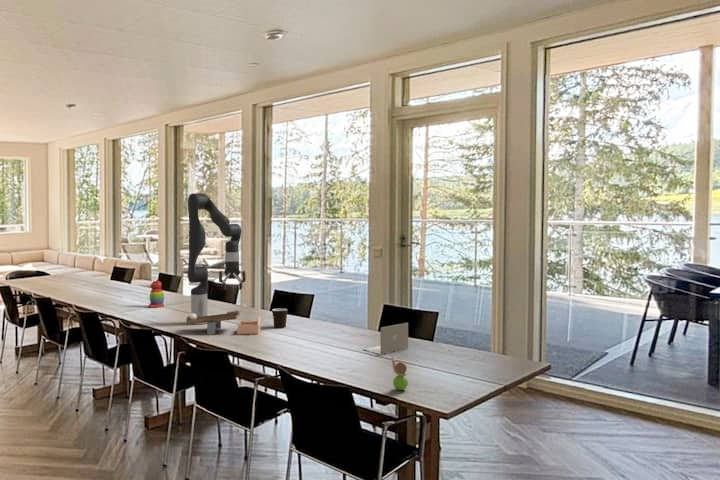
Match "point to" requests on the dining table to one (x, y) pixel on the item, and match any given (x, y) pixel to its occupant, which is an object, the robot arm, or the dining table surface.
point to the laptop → (392, 339)
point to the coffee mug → (279, 317)
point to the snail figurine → (400, 375)
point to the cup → (249, 327)
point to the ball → (192, 316)
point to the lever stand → (213, 327)
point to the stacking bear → (156, 295)
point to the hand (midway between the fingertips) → (232, 289)
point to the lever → (214, 318)
